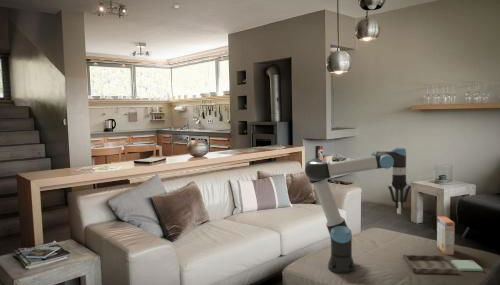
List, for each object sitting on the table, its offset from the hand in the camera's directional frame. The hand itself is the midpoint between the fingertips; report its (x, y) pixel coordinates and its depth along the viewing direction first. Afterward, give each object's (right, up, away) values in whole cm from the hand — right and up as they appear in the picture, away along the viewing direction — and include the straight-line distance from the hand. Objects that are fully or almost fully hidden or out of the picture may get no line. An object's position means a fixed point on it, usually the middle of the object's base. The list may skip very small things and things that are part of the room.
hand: (399, 213), depth 230 cm
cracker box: (+36, -27, +17) cm, 48 cm away
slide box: (+15, -30, -6) cm, 34 cm away
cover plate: (+35, -30, -9) cm, 47 cm away
